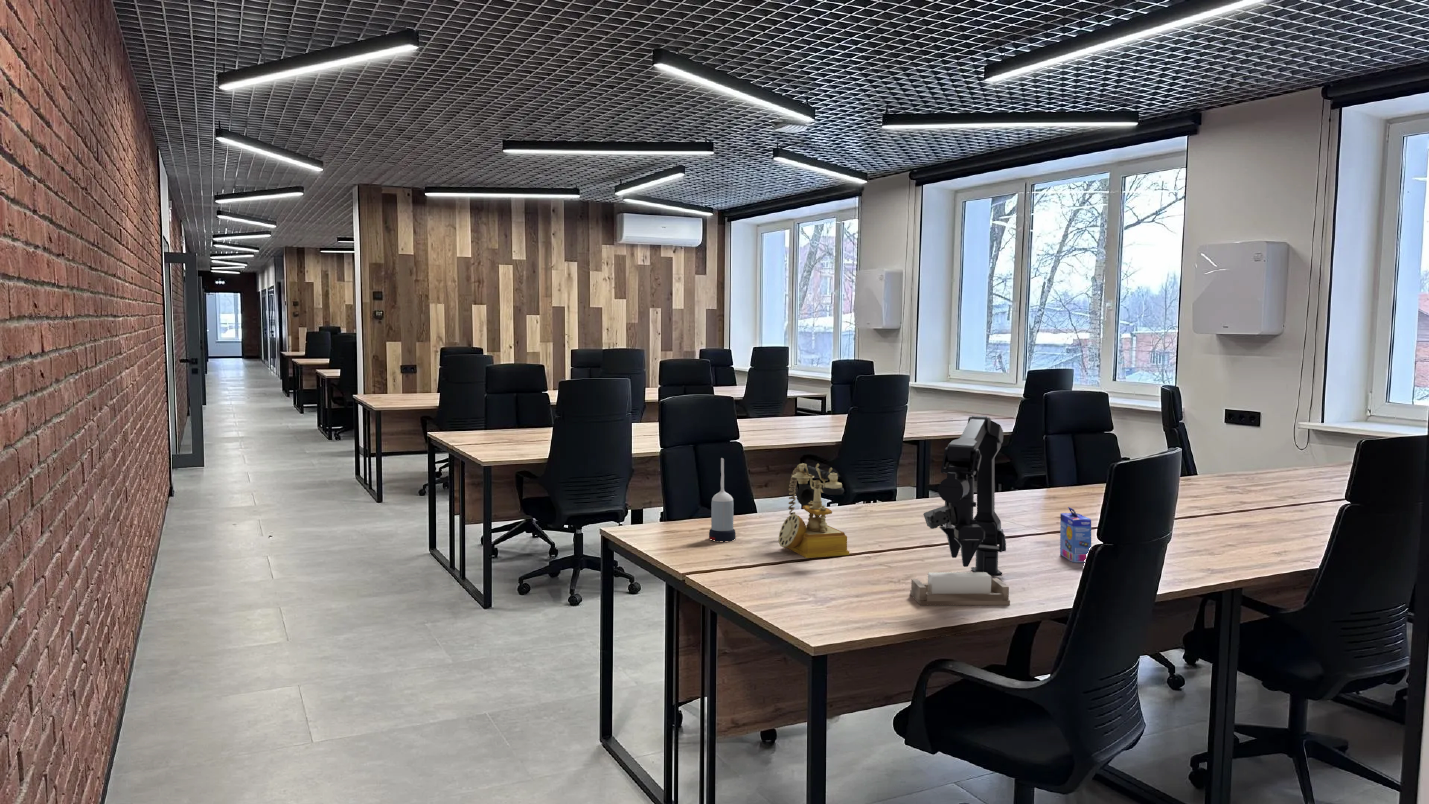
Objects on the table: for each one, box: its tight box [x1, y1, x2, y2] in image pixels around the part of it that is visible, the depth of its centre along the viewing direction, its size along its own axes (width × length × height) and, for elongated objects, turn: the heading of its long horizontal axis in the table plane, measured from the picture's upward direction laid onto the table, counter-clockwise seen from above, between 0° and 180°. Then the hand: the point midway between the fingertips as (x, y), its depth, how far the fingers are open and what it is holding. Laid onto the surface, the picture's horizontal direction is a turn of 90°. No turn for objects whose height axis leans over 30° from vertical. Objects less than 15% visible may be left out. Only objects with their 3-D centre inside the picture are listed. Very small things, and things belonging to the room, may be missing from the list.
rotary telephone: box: [778, 462, 850, 559], centre depth 284 cm, size 35×18×25 cm, turn 19°
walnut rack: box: [909, 577, 1011, 606], centre depth 230 cm, size 10×21×4 cm, turn 92°
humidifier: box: [708, 457, 737, 543], centre depth 296 cm, size 8×8×25 cm
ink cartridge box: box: [1059, 506, 1092, 564], centre depth 272 cm, size 10×6×14 cm, turn 2°
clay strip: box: [927, 571, 992, 594], centre depth 230 cm, size 4×14×5 cm, turn 92°
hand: (959, 562), depth 229 cm, fingers open, 9 cm apart
